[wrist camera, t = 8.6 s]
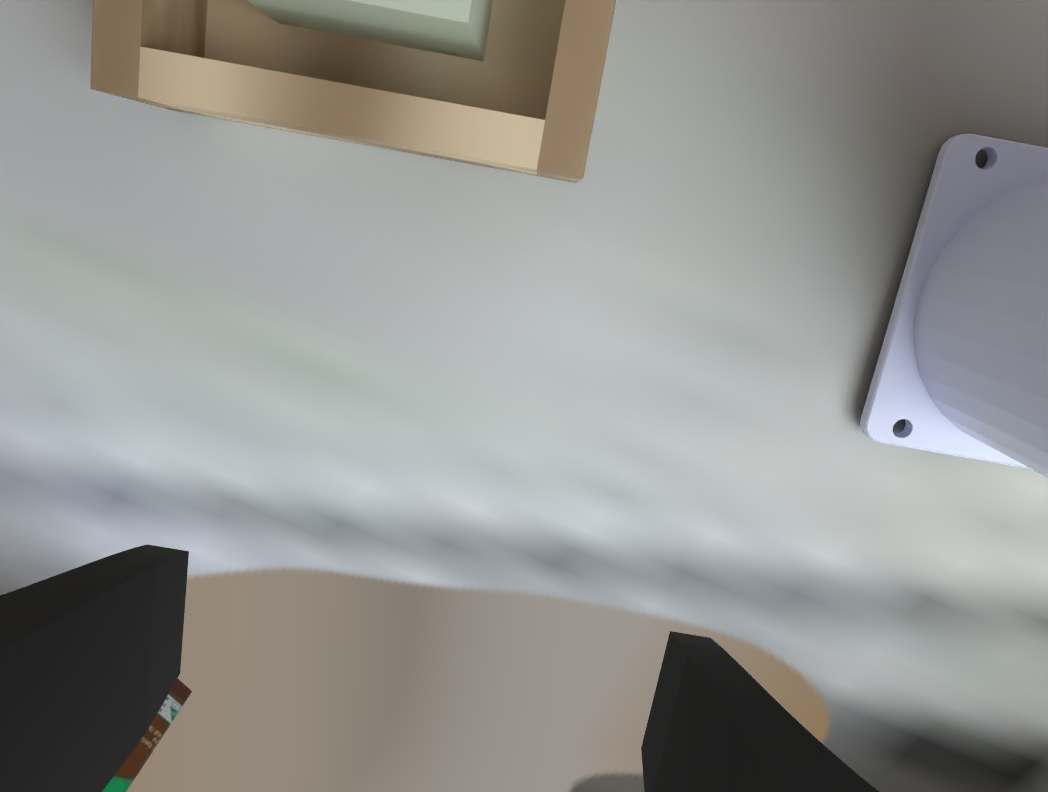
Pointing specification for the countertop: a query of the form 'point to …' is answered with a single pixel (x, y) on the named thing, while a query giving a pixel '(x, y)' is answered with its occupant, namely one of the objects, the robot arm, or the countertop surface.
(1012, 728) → the countertop surface
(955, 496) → the countertop surface
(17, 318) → the countertop surface
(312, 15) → the sage crate
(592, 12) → the box
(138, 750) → the food container
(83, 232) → the countertop surface
